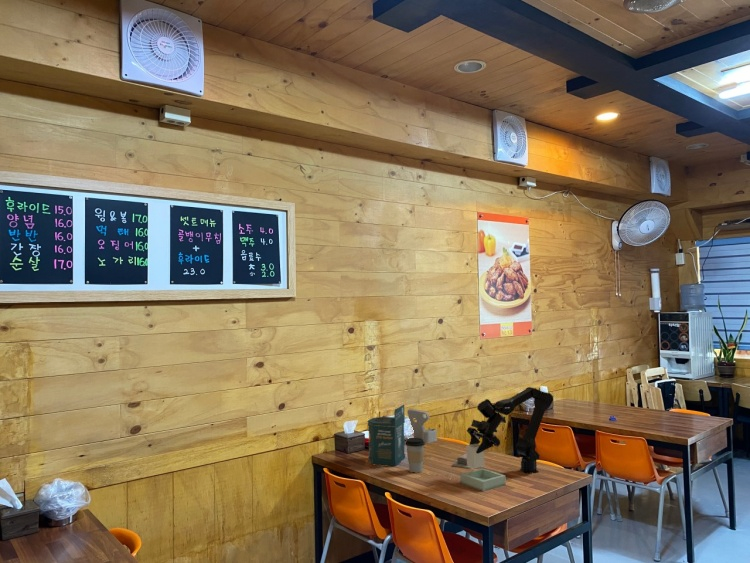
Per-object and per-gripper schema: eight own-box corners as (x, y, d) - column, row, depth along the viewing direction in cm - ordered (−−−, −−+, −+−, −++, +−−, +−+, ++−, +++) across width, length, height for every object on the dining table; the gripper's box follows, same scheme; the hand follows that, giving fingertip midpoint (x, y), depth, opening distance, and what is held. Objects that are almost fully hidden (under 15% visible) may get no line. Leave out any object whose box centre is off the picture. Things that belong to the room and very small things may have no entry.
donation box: (395, 466, 281) (394, 409, 282) (365, 463, 286) (364, 408, 287) (405, 458, 296) (404, 404, 297) (376, 455, 301) (375, 402, 302)
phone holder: (438, 440, 332) (438, 409, 333) (427, 443, 326) (426, 412, 326) (417, 435, 345) (416, 406, 346) (405, 438, 338) (405, 408, 339)
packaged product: (466, 448, 296) (484, 451, 291) (466, 458, 296) (484, 460, 290) (452, 456, 281) (470, 459, 275) (452, 466, 281) (471, 469, 275)
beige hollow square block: (476, 463, 260) (476, 443, 260) (484, 466, 255) (484, 446, 255) (466, 465, 258) (466, 445, 258) (474, 468, 253) (473, 447, 253)
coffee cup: (428, 469, 275) (427, 438, 276) (421, 475, 266) (420, 442, 267) (409, 467, 279) (409, 436, 279) (402, 472, 270) (402, 441, 271)
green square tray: (482, 477, 262) (482, 468, 262) (505, 484, 251) (505, 475, 251) (460, 482, 254) (460, 473, 254) (483, 491, 242) (483, 481, 243)
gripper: (469, 409, 267) (450, 436, 262) (494, 416, 251) (474, 445, 245) (483, 424, 271) (464, 451, 265) (508, 432, 254) (489, 460, 249)
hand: (472, 451), depth 256 cm, fingers closed on beige hollow square block, 6 cm apart
